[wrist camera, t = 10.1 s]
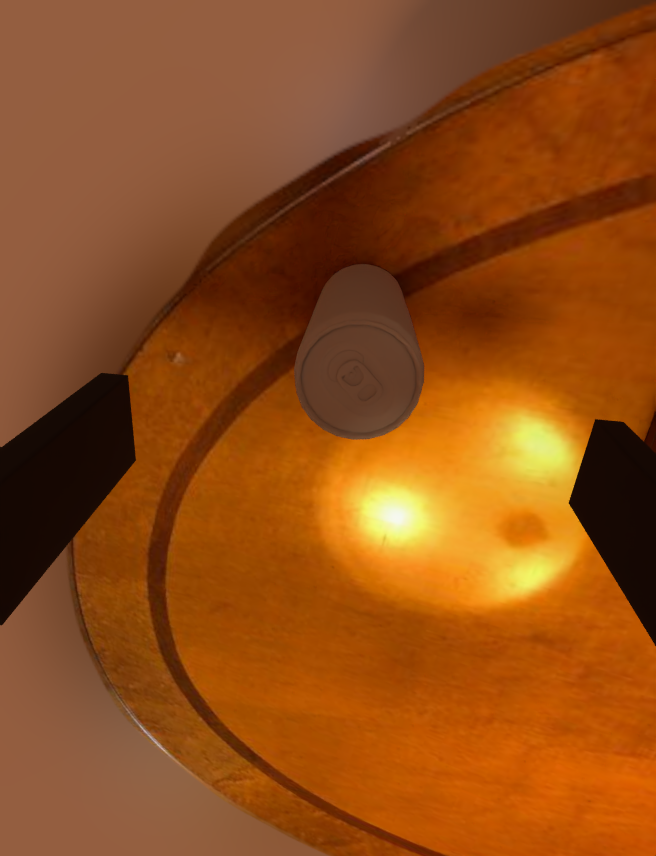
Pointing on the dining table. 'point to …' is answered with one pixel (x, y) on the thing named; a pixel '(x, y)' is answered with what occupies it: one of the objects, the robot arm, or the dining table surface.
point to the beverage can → (359, 356)
